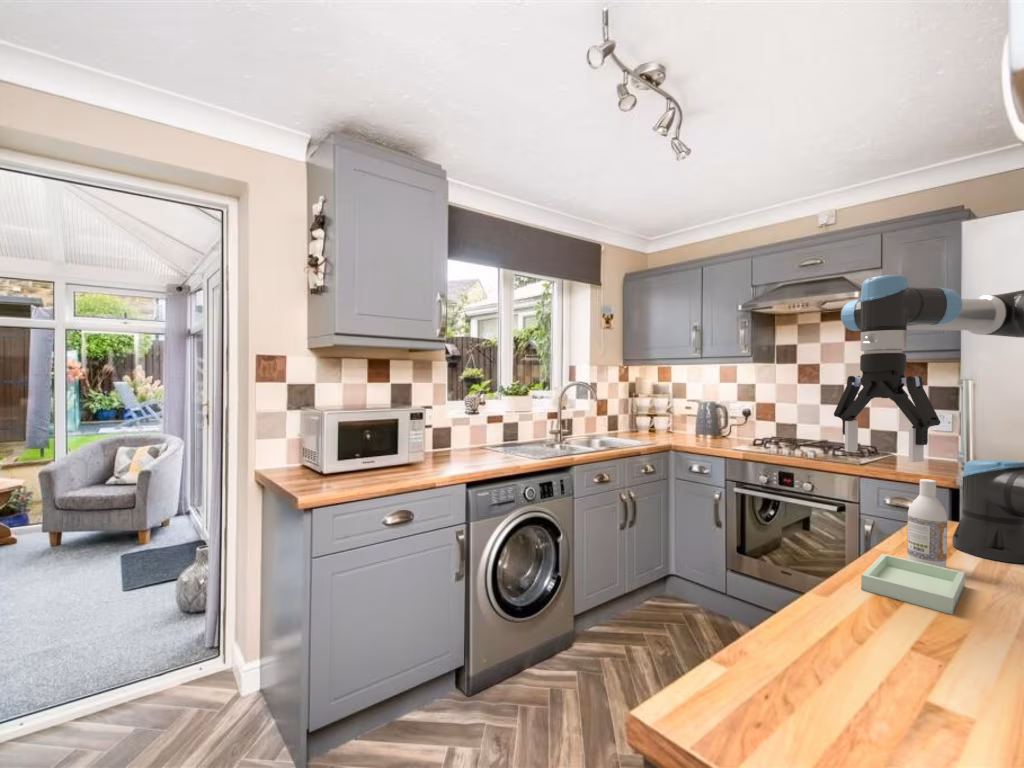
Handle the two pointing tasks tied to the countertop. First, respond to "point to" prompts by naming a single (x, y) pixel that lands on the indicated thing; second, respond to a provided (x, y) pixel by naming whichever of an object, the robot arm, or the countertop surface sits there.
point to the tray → (914, 582)
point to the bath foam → (927, 527)
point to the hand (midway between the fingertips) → (881, 456)
